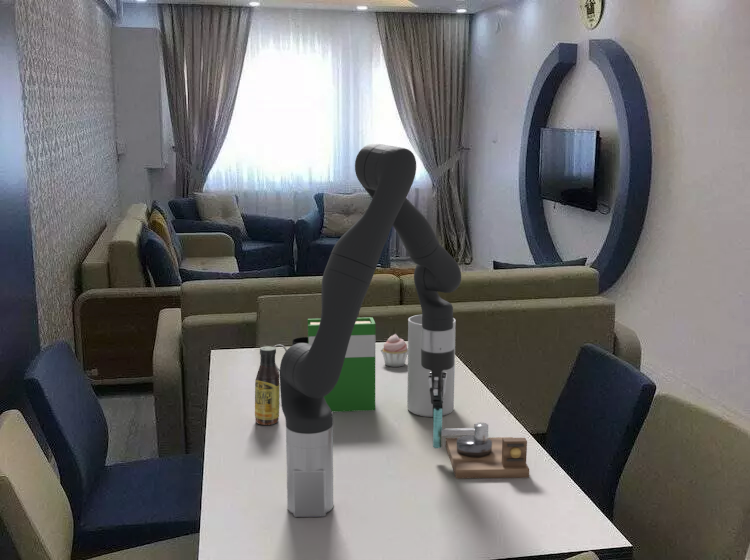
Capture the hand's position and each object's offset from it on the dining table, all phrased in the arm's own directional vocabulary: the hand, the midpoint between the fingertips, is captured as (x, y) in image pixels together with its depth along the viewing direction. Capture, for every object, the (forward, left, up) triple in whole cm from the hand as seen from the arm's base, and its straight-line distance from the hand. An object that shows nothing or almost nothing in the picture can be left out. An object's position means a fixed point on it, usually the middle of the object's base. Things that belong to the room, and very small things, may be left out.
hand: (437, 417), depth 184 cm
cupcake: (+72, +5, -9) cm, 72 cm away
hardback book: (+33, +22, -9) cm, 40 cm away
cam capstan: (-4, -5, -7) cm, 9 cm away
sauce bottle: (+22, +41, -9) cm, 48 cm away
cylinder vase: (+30, -2, -9) cm, 31 cm away
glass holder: (+47, +35, -9) cm, 59 cm away
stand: (-4, -11, -9) cm, 14 cm away
